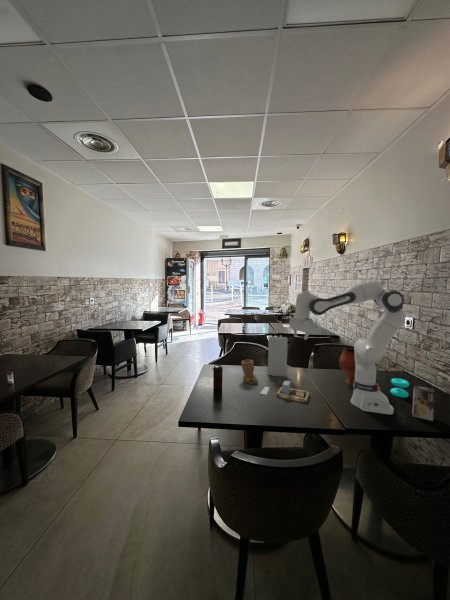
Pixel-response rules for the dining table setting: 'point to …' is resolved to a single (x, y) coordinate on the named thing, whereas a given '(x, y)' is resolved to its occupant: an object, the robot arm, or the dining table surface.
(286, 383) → the blue grey block
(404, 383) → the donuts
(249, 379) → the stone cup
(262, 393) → the mat
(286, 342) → the grey box
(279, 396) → the wooden tray
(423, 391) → the grey picture frame
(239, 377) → the dining table surface
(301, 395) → the offcut upper
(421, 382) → the dining table surface
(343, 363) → the terracotta vase
